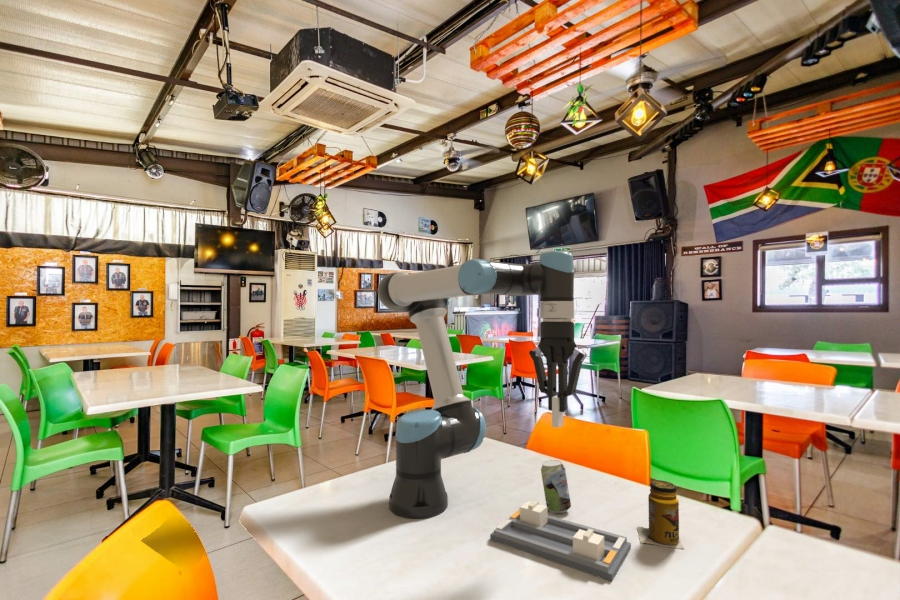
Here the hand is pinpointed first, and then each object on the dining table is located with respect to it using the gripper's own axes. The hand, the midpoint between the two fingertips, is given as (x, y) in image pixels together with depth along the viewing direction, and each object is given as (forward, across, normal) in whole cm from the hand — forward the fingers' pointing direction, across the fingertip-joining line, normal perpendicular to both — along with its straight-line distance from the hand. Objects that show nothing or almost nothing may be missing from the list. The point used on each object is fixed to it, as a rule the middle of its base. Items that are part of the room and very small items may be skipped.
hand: (557, 425), depth 100 cm
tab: (+23, +9, -6) cm, 25 cm away
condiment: (+25, +18, +12) cm, 33 cm away
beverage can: (+25, -6, +12) cm, 28 cm away
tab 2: (+23, -6, 0) cm, 24 cm away
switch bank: (+24, +2, -3) cm, 25 cm away
